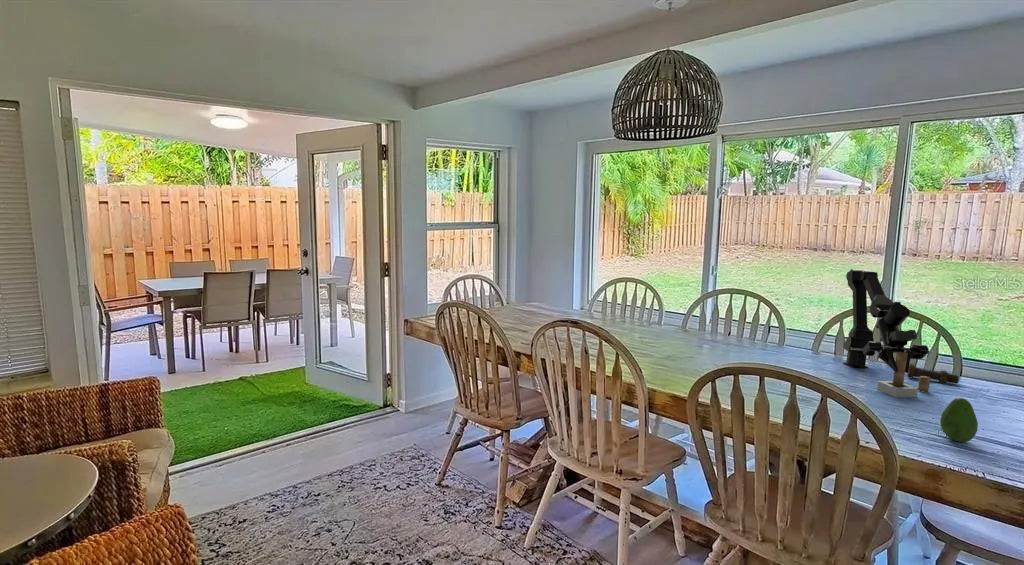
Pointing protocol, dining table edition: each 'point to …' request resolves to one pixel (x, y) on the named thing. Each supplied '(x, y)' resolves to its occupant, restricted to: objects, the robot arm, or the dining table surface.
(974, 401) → the dining table surface
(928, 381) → the short dowel
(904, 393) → the hole block
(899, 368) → the long dowel
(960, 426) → the avocado
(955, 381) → the bolt
